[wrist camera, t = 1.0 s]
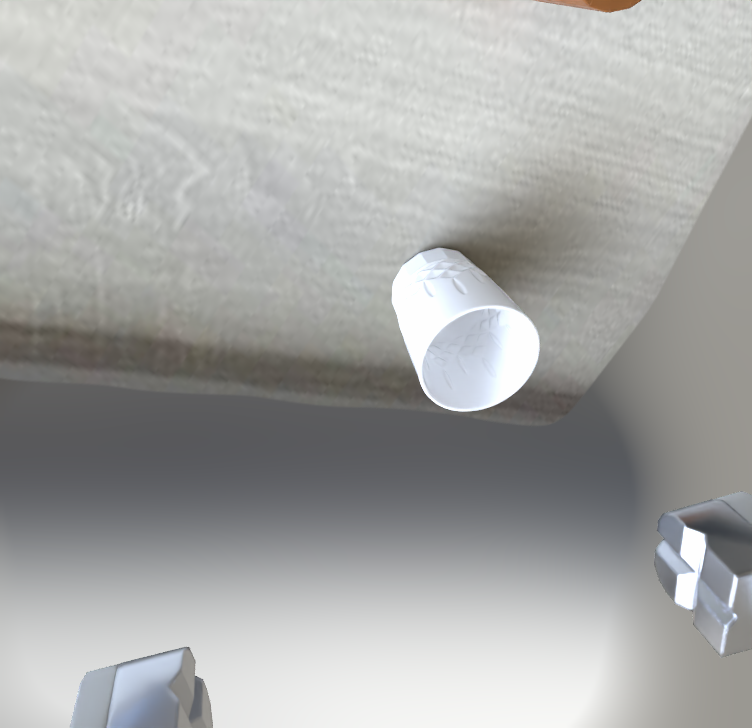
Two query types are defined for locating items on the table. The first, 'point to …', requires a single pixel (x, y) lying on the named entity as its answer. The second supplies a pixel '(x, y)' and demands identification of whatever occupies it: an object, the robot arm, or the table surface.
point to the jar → (596, 4)
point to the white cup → (462, 331)
